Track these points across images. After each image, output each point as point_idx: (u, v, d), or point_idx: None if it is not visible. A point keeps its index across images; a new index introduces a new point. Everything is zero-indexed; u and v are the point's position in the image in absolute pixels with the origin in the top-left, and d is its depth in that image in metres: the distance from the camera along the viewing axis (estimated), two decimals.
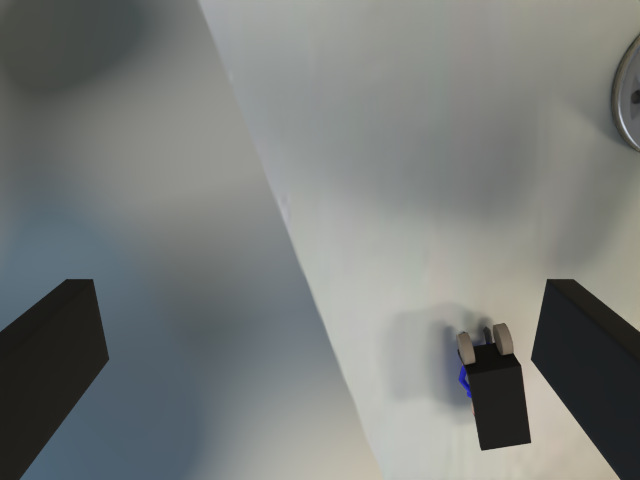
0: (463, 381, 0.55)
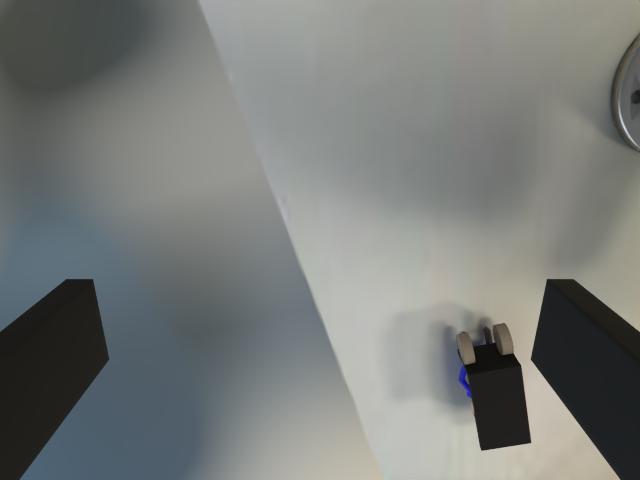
0: (463, 381, 0.55)
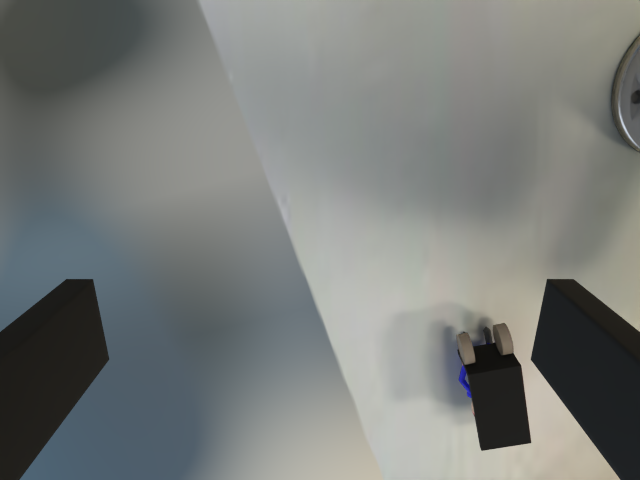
0: (463, 381, 0.55)
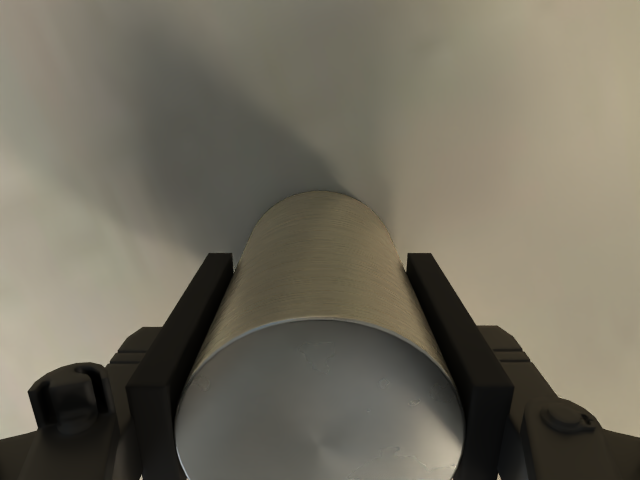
0: None
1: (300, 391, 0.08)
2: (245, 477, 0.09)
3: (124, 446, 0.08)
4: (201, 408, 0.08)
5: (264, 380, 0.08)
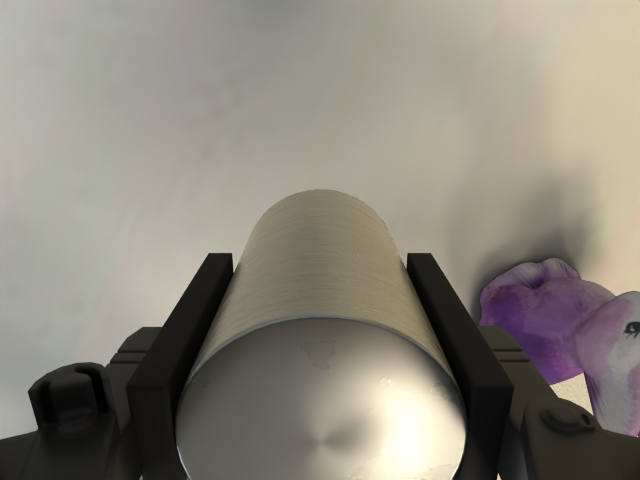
0: None
1: (302, 389, 0.08)
2: (246, 475, 0.09)
3: (124, 446, 0.08)
4: (202, 406, 0.08)
5: (266, 378, 0.08)
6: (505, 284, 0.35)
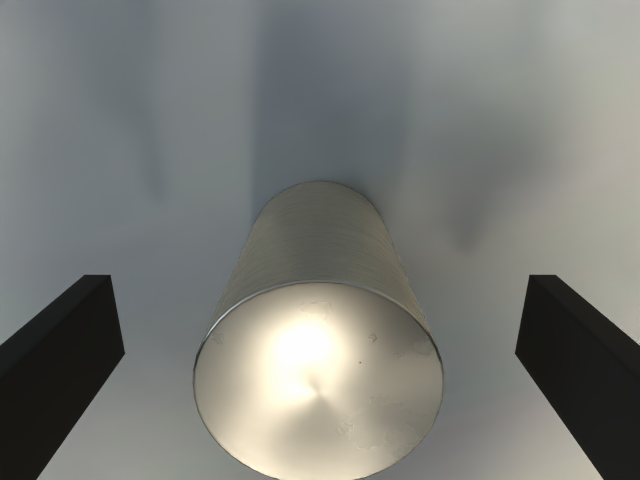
0: None
1: (301, 345, 0.09)
2: (253, 423, 0.10)
3: None
4: (217, 360, 0.10)
5: (271, 335, 0.09)
6: None
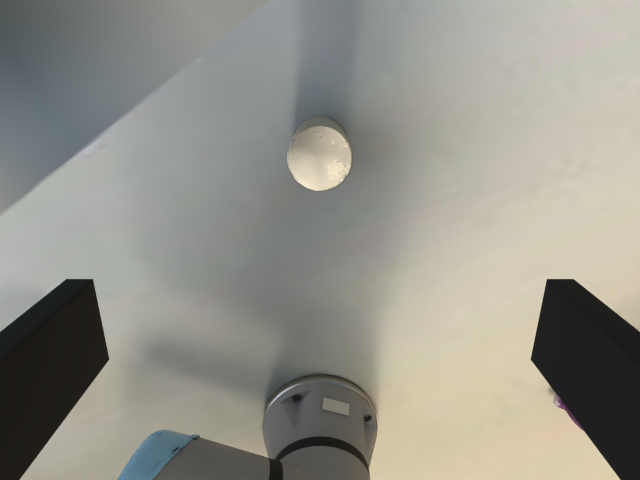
0: None
1: (315, 144, 0.37)
2: (302, 169, 0.38)
3: None
4: (293, 148, 0.38)
5: (307, 141, 0.37)
6: None
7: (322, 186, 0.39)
